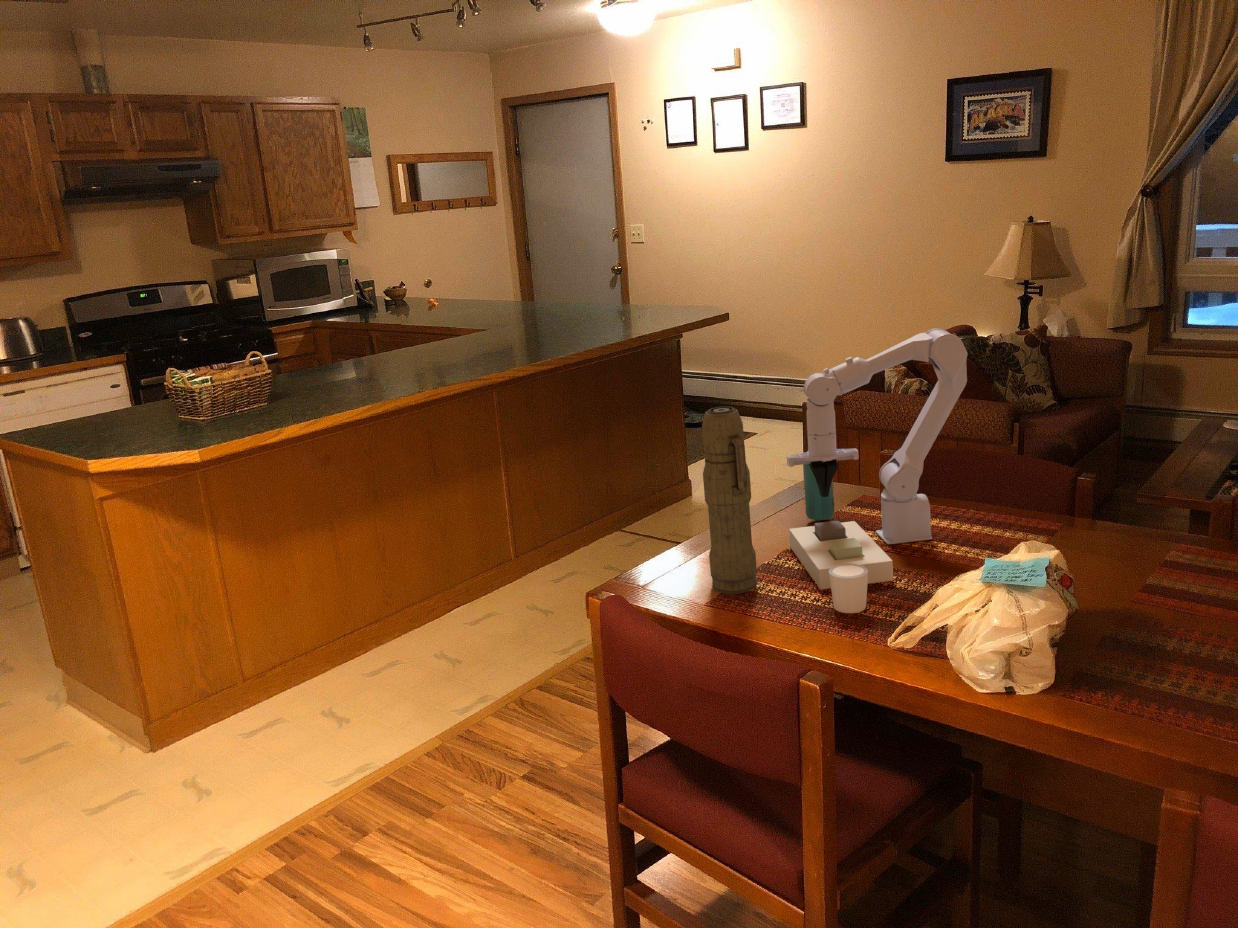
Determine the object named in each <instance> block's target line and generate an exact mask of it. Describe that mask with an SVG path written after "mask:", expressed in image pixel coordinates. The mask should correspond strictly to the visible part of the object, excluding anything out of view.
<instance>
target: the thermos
mask: <svg viewBox="0 0 1238 928" xmlns="http://www.w3.org/2000/svg"><path fill="white" fill-rule="evenodd" d="M701 428H702V440H703V442H702V443H703V452H704V455H705V458H704V467H703V472H702V481H703V492H704V502H705V503H706V506H707V511H708V523H709V534H710V549H709V553H708V558H709V559H708V560H709V569H710V571H709V572H710V577H711V578H712V579H711V580H712V581H711V582H712V585H711V586H712V589H713V591H715V592H717V593H719V594H724V595H740V594H743V593H744V592H745V593H748V592H751V591H753V590H754V589H756V588H757V586H758V582H757V573H758V568H757V557H756V556H757V555H756V554H757V553H756V549H755V548H754V545H753V538H752V524H751V523H752V522H751V508H750V502H751V499H752V490H751V489H752V488H751V472H750V469H749V467H748V464H747V459H746V445H745V436H744V435H745V434H744V423H743V420H742V418H741V415H740V413H739V411H738V409H736V408H734V407H733V406H716V407H712V408H710V409H708V410H707V411H705V412H704V416H703V420H702V426H701ZM756 585H757V586H756ZM755 587H756V588H755ZM752 589H753V590H752ZM750 590H751V591H750Z"/></svg>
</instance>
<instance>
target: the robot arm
mask: <svg viewBox="0 0 1238 928" xmlns="http://www.w3.org/2000/svg"><path fill="white" fill-rule="evenodd" d="M967 357H968V351H967V349H966V347H965V345H964V342H963V340H961V338H960V337H959V336H957V335H956V334H952V333H950V332H949V331H947V330H946V329H944V328H940V327H937V328H935V327H934V328H932V329H930V330H927V332H920V333H918V334H915V335H914V336H911V337H909V338H907V339H906V340H904V341H902V342H899V343H897V344H895V345H893V346H892V347H889V348H888V349H885V350H883V351H880V352H879V353H877V354H875V355H872V356H871V357H869V358H867V359H864V358H861V357H859V356H856V357H854V358H853V357H851V356H849V357H847V358H845V360H844V361H845V362H842V363H840V364H839V365H836V366H833V367H831V368H830V369H829V368H828V367H825V368H824V369H823V370H822V371H823V373H820V372H815V373H813V374H811V375H809V377H807V379H806V380H805V381H804V386H803V392H804V394H805V396H806V397H807V398H806V408H807V410H806V431H807V437H808V447H807V451H808V452H807V451H806V452H801V453H796V454H789V455H787V456H786V462H787V463H786V465H787V466H788V467H789V468H791V467H795V466H801V465H802V466H803V464H808V465H809V467H810V469H811V470H812V472H813V474H814V477H815V479H816V482H817V485H818V488H819V493H820V495H821V496H822V497H828V496H829V490H830V486H831V483H832V480H833V481H834V477H835V475H836V473H837V471H838V469H839V463H838V462H839V461H847V460H854V461H856V460H859V450H858V449H857V448H855V447H854V448H837V430H836V410H835V402H834V401H835V399H836V398H837V396H842V395H844V394H846V393H849V392H851V391H853V390H856V389H858V388H860V387H862V386H865V385H867V384H869V383H870V381H871V379H872V377H873V375H875V374H878V373H880V372H882V371H885V370H888V369H890V368H892V367H895V366H899V365H900V364H904V363H905V362H908V361H912V360H913V361H921V362H925V363H929V362H930V363H931V365H932V367H933V370H934V372H935V374H936V377H937V382H936V384H934V388H933V389H932V391H931V393H930V394H929V396H928V398H927V400H926V402H925V404H924V406H923V407H922V409H921V411H920V413H919V414H918V416H917V419H916V420H915V421H914V423H913V425H912V427H911V428H910V431H909V433H908V435H907V436H906V438H905V440H904V441H903V444H902V445H901V447H900V448H899V449H898V450H896V451H895V452H894V453H893V455H892V457H891V458H890V459H889V460H888V461H887V462H885V463H884V464H883V465H882V466H881V467H880V469H879V472H878V473H879V474H878V478H879V481H880V483H881V484H882V485H883V486H884V487H883V490H882V492H881V494H880V499H881V500H880V501H881V502H880V503H881V529H877V530H875V533H876V534H877V536H879V538H881V539H882V540H883V541H884V542H885V543H886V544H887V545H896V544H904V543H911V542H912V543H913V542H921V541H929V540H932V539H933V537H932V529H931V528H932V527H931V526H932V525H931V521H932V520H931V519H932V518H931V506H930V505H931V504H930V501H929V499H928V496H927V495H926V494H924V493H917V492H918V491H919V487H920V485H919V482H920V478H921V476H922V474H923V470H924V461H925V459H926V457H927V455H928V454H929V453H930V451H931V448H932V447H933V444H934V443H935V441H936V439H937V437H938V435H939V434H940V432H941V431H942V429H943V427H944V425H945V423H946V421H947V420H948V417H949V416H950V414H951V412H952V410H953V409H954V407H955V406H956V404H957V401H958V400H959V398H960V396H961V394H962V392H963V391H964V389H965V387H966V385H967V382H968V375H967V373H968V372H967V370H968V369H967ZM837 461H838V462H837Z"/></svg>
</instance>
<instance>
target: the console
mask: <svg viewBox="0 0 1238 928" xmlns="http://www.w3.org/2000/svg"><path fill="white" fill-rule="evenodd" d="M840 523H841V524H842V525H843V526H844V527H845V530H846V538H843V539H849V538H855V539H856V540H857V541H858V543H859V544H860V545H861V546H862V557H859V558H851V559H842V560H835V559H834V558H833V557H832V556H831V554H830V550H829V541H832V540H827V541H819V539H818V538H817V537H816V536H815V525H810V526H802V527H793V528H789V529H788V533H789V535H788V536H789V547H790V548H791V550H792V552H793V553H794V554H795V556H796V558H797V559H798V560H799V562H800V563H801V564H802V566H803V567H804V569H805V570H806V572H807V573H808V575H809V576H810V578H812V579H811V580H813V582H814V581H815V582H814V583H815V585H816V584H817V585H816V586H817V587H818V589H819V590H828V589H831V584H830V577H829V569H830V568H831V567H834V566H836V565H841V564H858V565H861V566H864V567H866V568H867V570H868V582H867V585H868V584H876V583H877V584H878V583H884V582H886V583H887V582H893V581H894V566H893V565H894V563H893V562H894V561H893V559H892V558H890V556H889V555H888V554H887V553H886V552H885V551H884V550H883V549H882V548H881V547H880V546H879V544H877V543H876V541H874V539H872V538H871V536H869V534H868V533H867V532H866V531H865V530H864V529H863V528H862V527H861V526H860V525H859V524H858V523H857V522H856V521H855V520H853V521H844V522H843V521H842V522H840ZM835 540H841V539H835Z"/></svg>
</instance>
